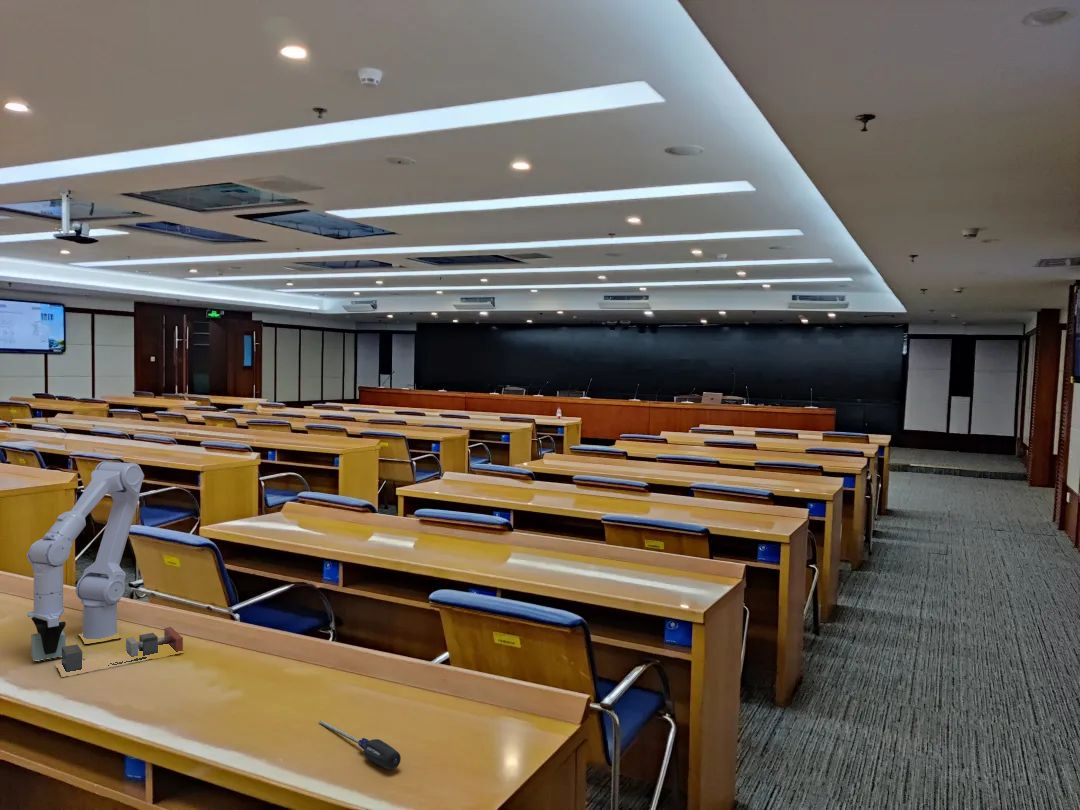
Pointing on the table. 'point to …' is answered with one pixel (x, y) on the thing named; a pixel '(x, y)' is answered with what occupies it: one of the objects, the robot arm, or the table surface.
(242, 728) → the table surface
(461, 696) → the table surface
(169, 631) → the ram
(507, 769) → the table surface
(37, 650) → the block
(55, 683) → the table surface
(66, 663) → the frame
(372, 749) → the screwdriver
